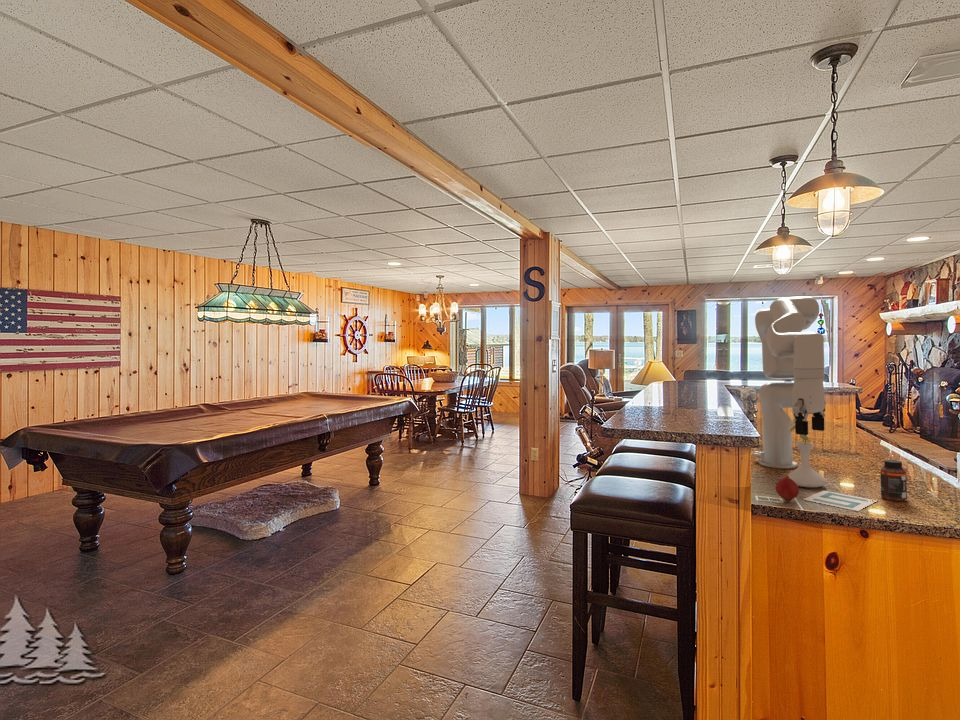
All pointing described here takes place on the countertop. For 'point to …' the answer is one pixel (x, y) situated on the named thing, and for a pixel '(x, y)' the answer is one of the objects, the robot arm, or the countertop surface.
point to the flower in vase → (805, 465)
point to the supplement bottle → (893, 481)
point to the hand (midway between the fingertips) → (810, 432)
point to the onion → (787, 489)
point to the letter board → (840, 500)
